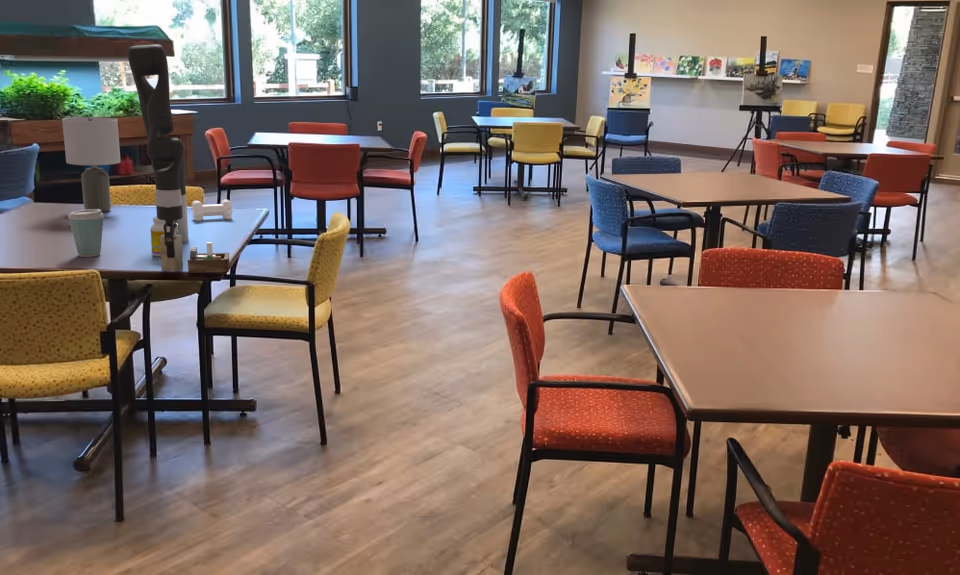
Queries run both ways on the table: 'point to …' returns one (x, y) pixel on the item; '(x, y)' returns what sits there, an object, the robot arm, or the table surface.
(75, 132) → the lamp
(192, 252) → the grey blocky piece
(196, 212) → the dog bone
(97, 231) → the disposable coffee cup
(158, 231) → the supplement bottle
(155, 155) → the robot arm
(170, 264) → the box
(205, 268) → the brown wooden open box
